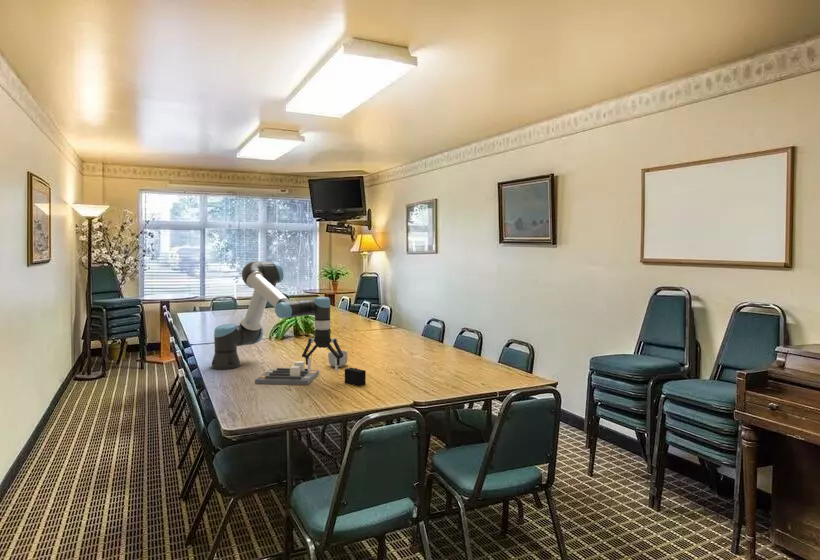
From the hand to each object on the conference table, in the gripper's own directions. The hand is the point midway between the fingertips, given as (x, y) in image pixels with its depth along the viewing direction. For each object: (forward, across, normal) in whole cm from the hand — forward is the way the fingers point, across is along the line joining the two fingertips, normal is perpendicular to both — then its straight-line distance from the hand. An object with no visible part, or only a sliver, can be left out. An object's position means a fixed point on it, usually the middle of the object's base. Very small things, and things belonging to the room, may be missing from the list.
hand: (322, 371), depth 249 cm
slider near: (+3, -14, 0) cm, 14 cm away
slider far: (+3, -15, +11) cm, 19 cm away
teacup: (+6, 0, +37) cm, 37 cm away
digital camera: (+6, +17, -1) cm, 18 cm away
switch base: (+5, -19, +5) cm, 20 cm away
